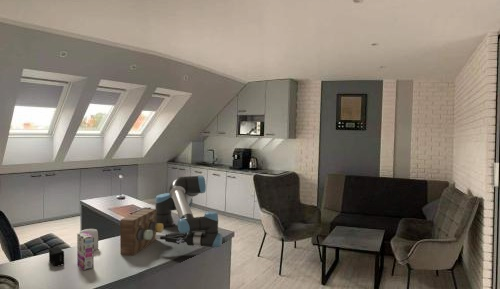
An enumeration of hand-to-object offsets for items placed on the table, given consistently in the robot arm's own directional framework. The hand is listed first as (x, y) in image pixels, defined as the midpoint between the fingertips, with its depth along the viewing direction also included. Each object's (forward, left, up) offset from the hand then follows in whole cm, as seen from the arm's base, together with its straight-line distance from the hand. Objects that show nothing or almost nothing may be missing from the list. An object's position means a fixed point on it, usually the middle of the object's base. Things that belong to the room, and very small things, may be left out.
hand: (156, 236), depth 184 cm
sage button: (-1, -5, -2) cm, 5 cm away
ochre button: (-15, -2, -2) cm, 15 cm away
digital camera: (+16, -49, -10) cm, 52 cm away
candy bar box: (+19, -31, -10) cm, 38 cm away
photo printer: (-4, -41, -10) cm, 42 cm away
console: (-10, -13, -9) cm, 19 cm away
